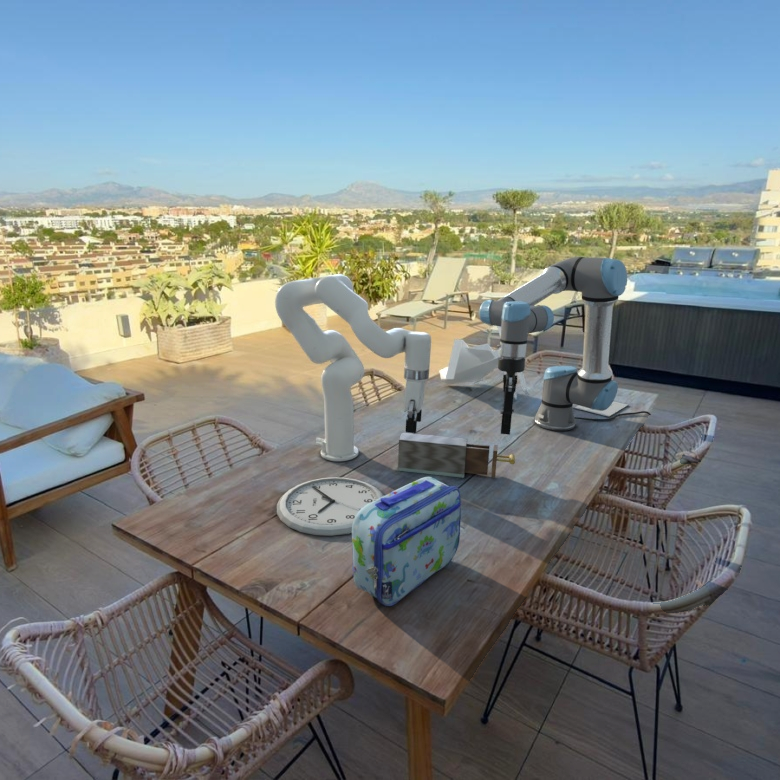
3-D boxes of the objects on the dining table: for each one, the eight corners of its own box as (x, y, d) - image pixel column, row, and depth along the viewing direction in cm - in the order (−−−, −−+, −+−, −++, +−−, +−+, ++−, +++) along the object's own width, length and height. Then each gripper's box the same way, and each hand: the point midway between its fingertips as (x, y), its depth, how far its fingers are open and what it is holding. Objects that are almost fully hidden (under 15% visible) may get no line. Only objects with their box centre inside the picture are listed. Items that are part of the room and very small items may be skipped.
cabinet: (465, 469, 166) (467, 438, 162) (464, 477, 160) (466, 446, 157) (401, 462, 169) (402, 432, 166) (397, 470, 164) (398, 439, 161)
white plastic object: (461, 429, 252) (437, 405, 227) (444, 352, 274) (420, 323, 250) (535, 404, 240) (518, 377, 215) (510, 326, 262) (492, 293, 237)
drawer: (513, 472, 162) (515, 446, 159) (513, 479, 158) (516, 452, 155) (432, 464, 167) (434, 438, 164) (431, 470, 162) (432, 444, 160)
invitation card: (608, 416, 214) (573, 407, 224) (608, 416, 214) (573, 408, 224) (628, 404, 229) (594, 396, 238) (628, 405, 229) (594, 397, 238)
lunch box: (381, 619, 101) (382, 525, 95) (345, 592, 109) (344, 503, 102) (464, 563, 119) (469, 480, 113) (428, 543, 126) (432, 464, 120)
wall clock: (392, 527, 129) (268, 531, 127) (391, 533, 130) (269, 537, 127) (383, 473, 158) (282, 475, 155) (383, 478, 158) (282, 480, 156)
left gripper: (409, 365, 165) (406, 415, 171) (398, 380, 149) (396, 435, 154) (432, 367, 164) (429, 418, 169) (424, 382, 148) (421, 438, 153)
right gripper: (498, 350, 156) (492, 424, 163) (498, 361, 144) (492, 440, 151) (524, 352, 155) (517, 426, 162) (526, 362, 142) (518, 442, 149)
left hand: (413, 426), depth 162 cm, fingers open, 9 cm apart
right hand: (505, 433), depth 156 cm, fingers closed
